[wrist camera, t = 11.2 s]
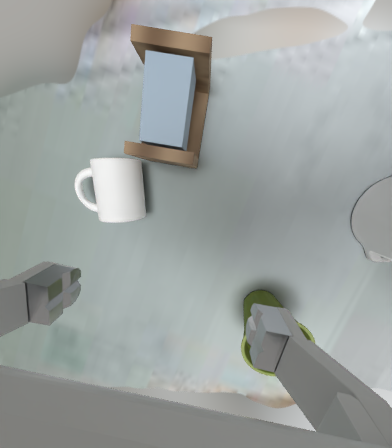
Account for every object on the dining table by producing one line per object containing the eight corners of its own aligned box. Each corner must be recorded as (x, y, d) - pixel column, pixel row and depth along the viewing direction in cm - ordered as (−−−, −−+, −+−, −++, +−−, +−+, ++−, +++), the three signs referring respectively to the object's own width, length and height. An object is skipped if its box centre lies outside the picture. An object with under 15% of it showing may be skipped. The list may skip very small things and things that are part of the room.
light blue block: (196, 80, 25) (193, 57, 20) (186, 152, 28) (181, 147, 23) (157, 74, 25) (145, 50, 20) (150, 146, 28) (139, 140, 23)
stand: (210, 86, 30) (212, 37, 20) (196, 168, 34) (192, 164, 23) (157, 77, 30) (131, 24, 20) (149, 160, 34) (124, 153, 23)
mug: (147, 161, 34) (130, 157, 26) (151, 213, 37) (137, 222, 29) (86, 163, 35) (52, 158, 27) (94, 213, 37) (65, 223, 30)
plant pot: (270, 270, 38) (296, 307, 27) (294, 311, 40) (327, 361, 30) (222, 294, 40) (228, 338, 29) (247, 332, 43) (262, 385, 32)
